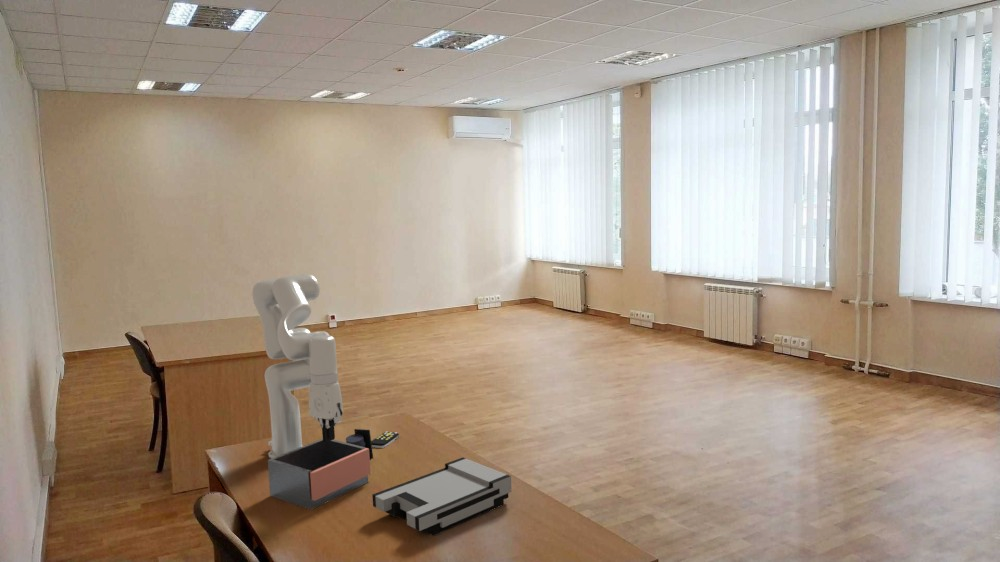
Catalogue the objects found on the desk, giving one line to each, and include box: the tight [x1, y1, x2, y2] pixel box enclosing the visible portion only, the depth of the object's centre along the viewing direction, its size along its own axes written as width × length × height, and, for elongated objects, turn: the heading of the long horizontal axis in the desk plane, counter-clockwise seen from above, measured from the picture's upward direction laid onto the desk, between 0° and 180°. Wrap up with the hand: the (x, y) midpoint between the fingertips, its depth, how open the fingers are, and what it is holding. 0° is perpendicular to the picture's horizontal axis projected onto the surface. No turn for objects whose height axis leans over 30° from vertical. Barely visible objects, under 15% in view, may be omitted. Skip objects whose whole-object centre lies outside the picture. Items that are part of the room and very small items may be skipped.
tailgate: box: [310, 448, 371, 501], centre depth 208 cm, size 1×22×8 cm, turn 145°
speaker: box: [345, 428, 374, 459], centre depth 235 cm, size 8×6×10 cm
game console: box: [371, 457, 512, 537], centre depth 197 cm, size 21×32×8 cm, turn 133°
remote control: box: [371, 431, 400, 449], centre depth 253 cm, size 6×13×2 cm, turn 160°
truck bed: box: [267, 438, 369, 510], centre depth 213 cm, size 18×22×11 cm
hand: (329, 439), depth 209 cm, fingers closed
